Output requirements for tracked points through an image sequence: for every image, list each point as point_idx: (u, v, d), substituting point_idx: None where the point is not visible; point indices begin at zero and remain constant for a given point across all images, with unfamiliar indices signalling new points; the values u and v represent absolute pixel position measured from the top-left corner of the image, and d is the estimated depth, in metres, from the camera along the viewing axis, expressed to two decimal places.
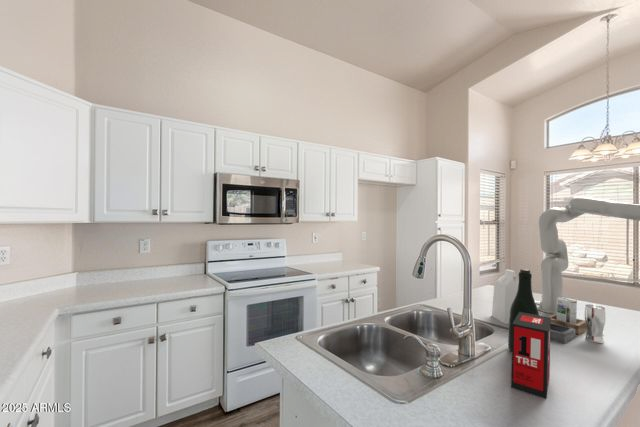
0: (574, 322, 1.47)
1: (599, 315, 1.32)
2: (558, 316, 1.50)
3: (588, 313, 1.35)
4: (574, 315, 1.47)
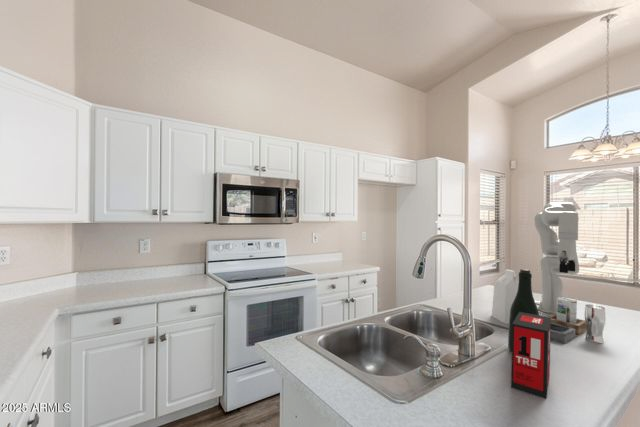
0: (574, 322, 1.47)
1: (599, 315, 1.32)
2: (558, 316, 1.50)
3: (588, 313, 1.35)
4: (574, 315, 1.47)
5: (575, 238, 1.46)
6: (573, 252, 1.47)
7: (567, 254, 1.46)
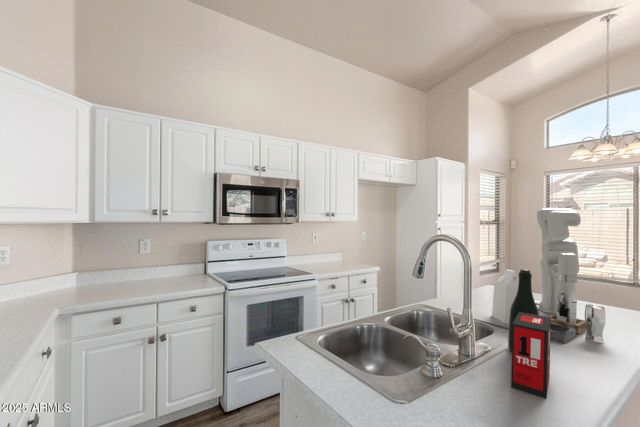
0: (574, 322, 1.47)
1: (599, 315, 1.32)
2: (558, 316, 1.50)
3: (588, 313, 1.35)
4: (574, 315, 1.47)
5: (574, 281, 1.46)
6: (572, 294, 1.47)
7: (566, 297, 1.46)
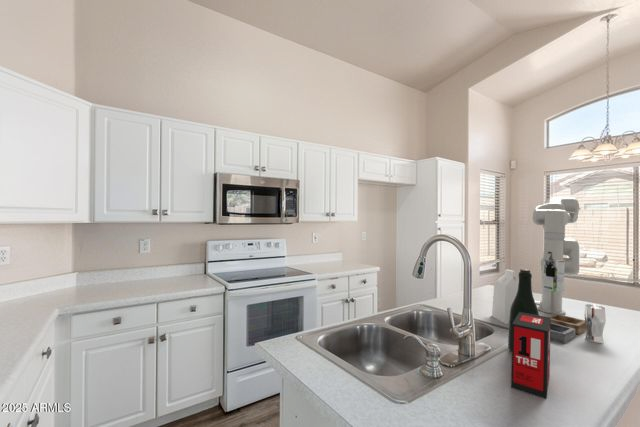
0: (562, 282, 1.38)
1: (599, 315, 1.32)
2: (545, 277, 1.41)
3: (588, 313, 1.35)
4: (562, 275, 1.38)
5: (562, 238, 1.37)
6: (560, 253, 1.38)
7: (553, 255, 1.36)
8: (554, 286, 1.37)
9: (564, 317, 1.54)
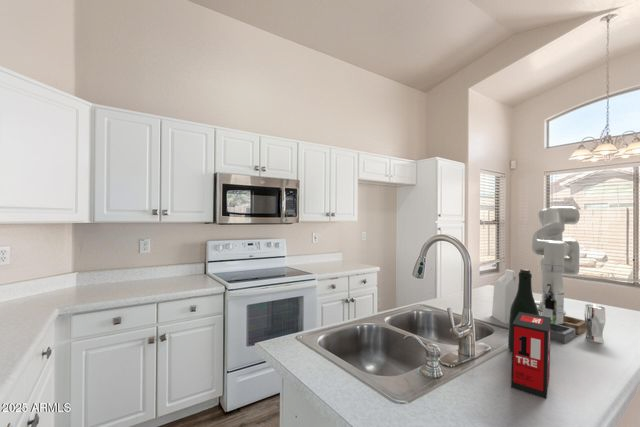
0: (561, 315, 1.38)
1: (599, 315, 1.32)
2: (544, 309, 1.41)
3: (588, 313, 1.35)
4: (561, 307, 1.38)
5: (561, 271, 1.36)
6: (559, 286, 1.38)
7: (552, 288, 1.36)
8: (554, 318, 1.37)
9: (564, 317, 1.54)
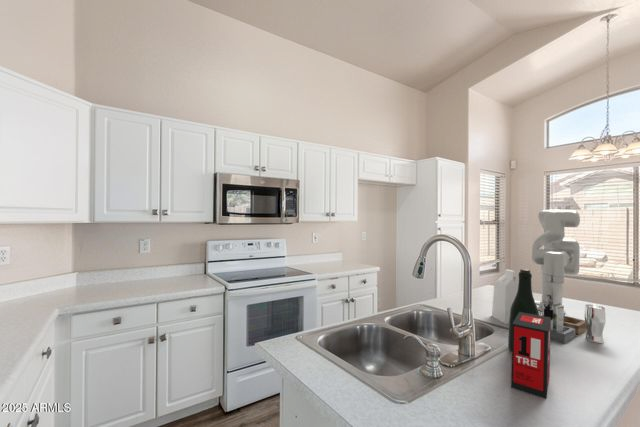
0: (561, 329, 1.38)
1: (599, 315, 1.32)
2: None
3: (588, 313, 1.35)
4: (561, 321, 1.38)
5: (561, 281, 1.36)
6: (559, 296, 1.38)
7: (552, 299, 1.36)
8: None
9: (564, 317, 1.54)
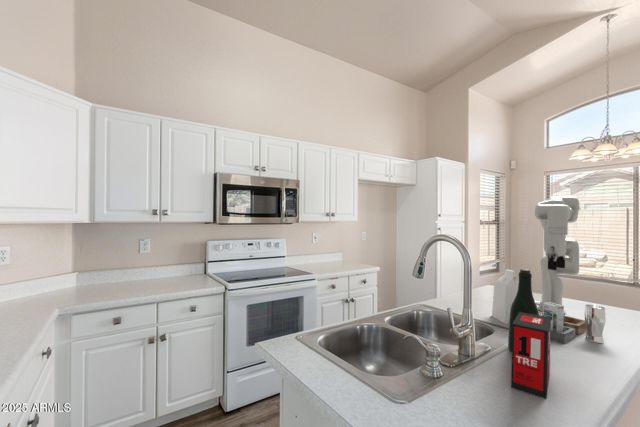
0: (561, 329, 1.38)
1: (599, 315, 1.32)
2: None
3: (588, 313, 1.35)
4: (561, 321, 1.38)
5: (564, 233, 1.38)
6: (562, 248, 1.39)
7: (556, 250, 1.37)
8: None
9: (564, 317, 1.54)
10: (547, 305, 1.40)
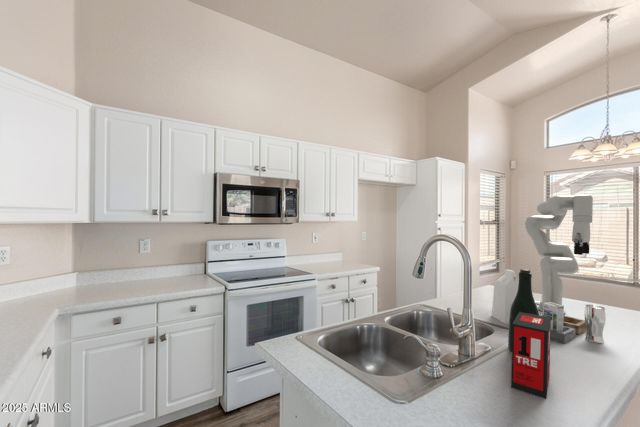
0: (561, 329, 1.38)
1: (599, 315, 1.32)
2: None
3: (588, 313, 1.35)
4: (561, 321, 1.38)
5: (590, 220, 1.49)
6: (587, 234, 1.50)
7: (582, 236, 1.49)
8: None
9: (564, 317, 1.54)
10: (547, 305, 1.40)
